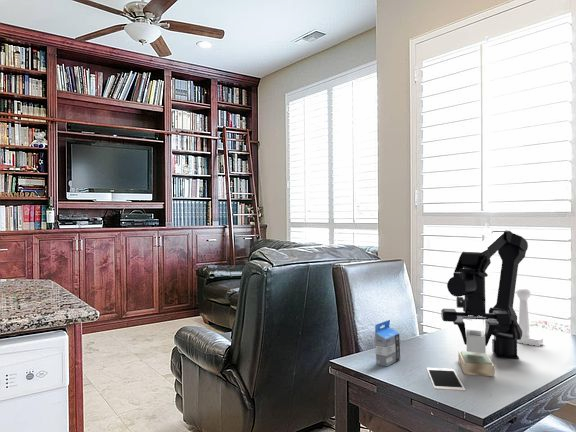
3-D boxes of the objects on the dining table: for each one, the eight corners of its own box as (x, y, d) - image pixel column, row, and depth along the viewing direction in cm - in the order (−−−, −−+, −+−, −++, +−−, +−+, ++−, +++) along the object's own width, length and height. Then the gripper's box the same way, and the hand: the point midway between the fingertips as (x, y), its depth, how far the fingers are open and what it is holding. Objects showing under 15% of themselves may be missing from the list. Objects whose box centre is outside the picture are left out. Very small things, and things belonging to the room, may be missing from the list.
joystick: (505, 340, 157) (504, 285, 157) (514, 336, 162) (513, 283, 162) (538, 346, 148) (537, 289, 148) (546, 342, 153) (545, 286, 153)
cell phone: (453, 370, 127) (453, 368, 127) (465, 392, 111) (465, 389, 111) (426, 369, 128) (426, 367, 128) (434, 390, 113) (434, 388, 113)
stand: (486, 362, 132) (486, 351, 132) (494, 376, 121) (494, 364, 121) (458, 360, 134) (458, 350, 134) (464, 374, 123) (464, 362, 123)
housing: (484, 345, 130) (483, 330, 130) (485, 353, 123) (485, 336, 123) (466, 343, 132) (466, 328, 132) (466, 351, 125) (466, 335, 125)
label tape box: (386, 367, 129) (386, 326, 129) (375, 364, 132) (374, 324, 132) (400, 360, 136) (400, 321, 136) (389, 357, 139) (388, 319, 139)
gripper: (502, 289, 133) (503, 339, 133) (439, 287, 138) (439, 336, 138) (511, 295, 123) (512, 350, 122) (442, 293, 127) (443, 346, 127)
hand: (475, 344), depth 128 cm, fingers closed on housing, 5 cm apart
